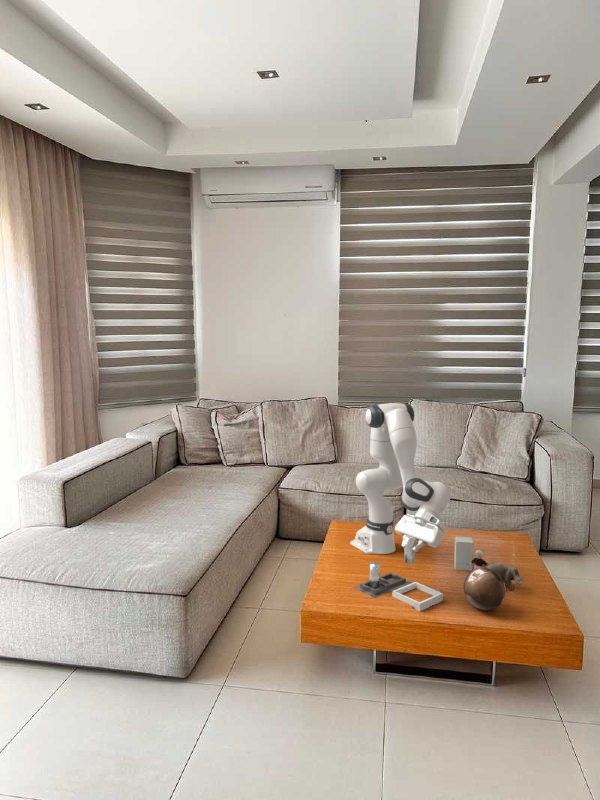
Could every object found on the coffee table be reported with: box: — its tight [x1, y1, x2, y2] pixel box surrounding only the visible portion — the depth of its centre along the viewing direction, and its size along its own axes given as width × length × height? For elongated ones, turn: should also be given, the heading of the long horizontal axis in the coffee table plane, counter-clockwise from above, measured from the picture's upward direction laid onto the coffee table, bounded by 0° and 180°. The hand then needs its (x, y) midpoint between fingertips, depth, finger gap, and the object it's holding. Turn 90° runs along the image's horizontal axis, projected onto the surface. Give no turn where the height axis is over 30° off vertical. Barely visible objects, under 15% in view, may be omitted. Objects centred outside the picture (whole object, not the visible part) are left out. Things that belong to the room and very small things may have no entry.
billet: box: [403, 535, 416, 565], centre depth 233 cm, size 4×4×10 cm
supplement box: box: [453, 536, 474, 572], centre depth 261 cm, size 7×7×13 cm
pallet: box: [353, 572, 414, 599], centre depth 242 cm, size 12×22×2 cm, turn 129°
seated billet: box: [369, 561, 381, 589], centre depth 238 cm, size 4×4×10 cm
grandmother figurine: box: [470, 549, 489, 570], centre depth 248 cm, size 8×4×13 cm, turn 68°
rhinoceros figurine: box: [485, 562, 524, 592], centre depth 242 cm, size 8×14×15 cm
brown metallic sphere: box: [463, 567, 507, 611], centre depth 223 cm, size 15×15×15 cm
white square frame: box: [391, 581, 444, 612], centre depth 230 cm, size 14×14×3 cm
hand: (408, 549), depth 233 cm, fingers closed on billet, 4 cm apart
